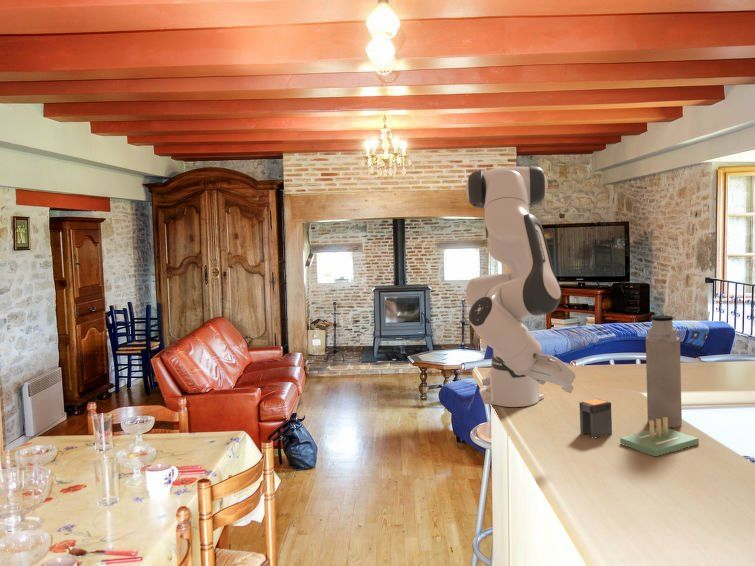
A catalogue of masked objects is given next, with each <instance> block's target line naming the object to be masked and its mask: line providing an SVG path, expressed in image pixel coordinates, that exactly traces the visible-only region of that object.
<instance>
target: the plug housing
mask: <svg viewBox="0 0 755 566" xmlns="http://www.w3.org/2000/svg"><path fill="white" fill-rule="evenodd" d="M578 404H579V425H580V426H579V428H580V429H579V430H580V434H581V433H582V434H581V435H583V434H584V435H586V434H585V433H588V432H591V433H590V438H591V437H593V438H594V439H596V438H595V437H598V438H601V437H600V436H602V437H605V435H606V436H609V435H608V434H610V435H612V434H613V425H612V423H613V421H612V420H613V419H612V402H611V401H607V400H603V399H599V398H594V399H589V400H586V401H585V400H584V401H581V402H579V403H578ZM588 434H589V433H588ZM593 438H592V439H593Z"/></svg>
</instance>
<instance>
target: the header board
mask: <svg viewBox="0 0 755 566" xmlns="http://www.w3.org/2000/svg"><path fill="white" fill-rule="evenodd" d="M648 424H649V425H648V426H649V430H645V431H641V432H638V433H634V434H629V435H626V436H621V437H619V439H620V443H622V444H624V445H627V446H630V447H632V448H631V449H633V448H635V449H637V450H636V451H638V450H640V451H639V452H641V451H643V452H645V453H644V454H646V453H648V454H647V455H649V454H650V455H649V456H651V455H652V456H651V457H654V456H657V457H660V456H659V455H661V456H663V455H662V454H664V455H667V454H666V453H668V454H670V453H669V452H671V453H674V452H673V451H675V452H677V451H676V450H678V451H680V450H679V449H681V450H683V449H682V448H685V449H687V448H686V447H688V448H691V447H690V446H692V447H694V446H693V445H695V446H698V444H700V443H699V442H700V440H699V437H696V436H694V435H690V434H687V433H684V432H680V431H677V430H674V429H672V428H668V418H667V417H663V427H661V419H656V426H654V421H652V420H650V421H649V423H648ZM622 444H621V445H622ZM624 445H623V446H624ZM627 446H626V447H627ZM630 447H629V448H630ZM635 449H634V450H635ZM643 452H642V453H643Z"/></svg>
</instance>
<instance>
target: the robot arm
mask: <svg viewBox="0 0 755 566" xmlns="http://www.w3.org/2000/svg"><path fill="white" fill-rule="evenodd" d="M548 183H549V182H548V178H547V176H546V174H545V171H544V170H543V169H542V168H541V167H540V166H536V165H534V166H533V165H529V166H505V167H498V168H491V169H487V170H486V169H485V170H482V169H480V170H476V171H473V172H471V174H469V175H468V178H467V180H466V185H465V193H466V194H465V195H466V198H467V199H468V200H467V201H469V204H470V205H471V206H473V207H474V208H479V209H484V223H485V227H486V229H487V233H488V252H489V254H490V256H491V258H492V259H494V260H495V261H496V262H499V263H501V264H504V265H507V266H508V267H509V268H510V272H508V273H499V274H496V273H495V274H486V275H480V276H477V277H474V278H471V279H470V280H469V281H468V283H467V285H466V288H465V298H466V301H467V304H468V305H469V306H470V308H469V309H470V310H469V312H468V321H469V324H470V326H471V327H472V328H473V329H472V330H473V331H474V332H475V333H476V334H477V335H478V337H480V339H481V340H482V341H483V342H484V343H485V344H486V345H487V346H488V347H490V348H491V349H492V353H493V354H492V356H491V364H490V365H491V368H490V369H489V371H488V372H487V373H486V375H485V377H484V378H481V379H482V382H481V383H482V386H485V387H481V388H479V390H478V391H479V394H480V397H481V401H482V402H483V404H484V405H492V406H493V405H495V406H499V407H507V408H518V407H519V408H520V407H528V406H533V405H535V404H537V403H539V401H541V400H543V399H544V398H545V395H544V394H543V393H540V386H539V385H542V386H544V385H546V383H549V384H554V385H556V386H560V387H561V389H562V390H563V391H564V392H566V393H568V394H571V393H572V391H573V390H574V386H573V383H574V382H575V379H576V376H577V375H576V373H575V371H573V369H571V368H570V367H569V366H568V365H567V364H565V362H563V361H562V360H561V359H559V358H558V357H556V356H553V355H549V354H545V353H542V350H543V349H542V344H541V343H540V342H539V340H537V338H536V337H534V335H533V334H532V333H531V332H530V330H529V328H528V327H527V325H525V324H523V323H522V321H523V320H526V319H529V318H533V317H537V316H542V315H547V314H553V312H555V311H556V310H557V308H558V306H559V303H560V302H561V299H562V288H561V285H560V282H559V281H558V278H557V276H556V274H555V270H554V267H553V262H552V259H551V255H550V250H549V246H548V243H547V242H548V241H547V239H546V235H545V232H544V229H543V226H542V224H541V222H540V220H539V218H538V217H536V215H533V214H531V213H530V209H531V208H533V206H534V205H538V204H540V203H542V201H543V200H545V196H546V195H547V191H548V186H549V185H548Z"/></svg>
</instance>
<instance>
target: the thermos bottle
mask: <svg viewBox="0 0 755 566" xmlns="http://www.w3.org/2000/svg"><path fill="white" fill-rule="evenodd" d="M673 319H674V317H673V316H671V315H661V314H660V315H651V320H652V321H651V327H649V328H648V329H647V334H648V336H646V337H645V365H646V367H645V368H646V369H645V370H646V371H645V372H646V373H645V374H646V401H647V402H646V405H647V407H646V408H647V423H648V424H649V421H650V420H652V421H654V427H656V419H661V427H663V417H667V418H668V429H670V428H669V427H674V428H679V427H681V426H682V424H683V421H682V420H683V418H682V417H683V416H682V378H681V377H682V374H681V373H682V371H681V370H682V368H681V337H678V335H677V334H678V331H677V328H675V327H673V326H674V324H673V323H674V322H673Z"/></svg>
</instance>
